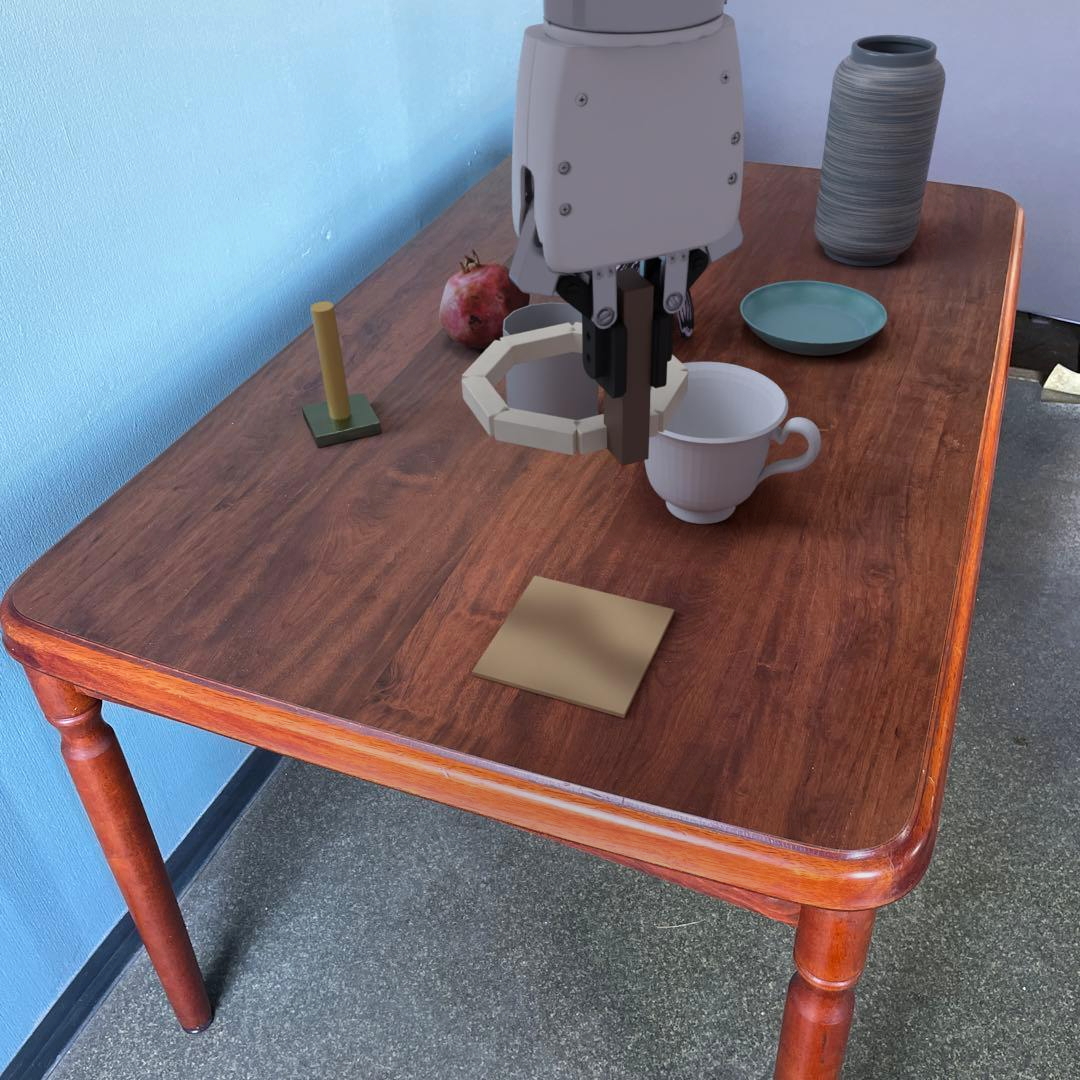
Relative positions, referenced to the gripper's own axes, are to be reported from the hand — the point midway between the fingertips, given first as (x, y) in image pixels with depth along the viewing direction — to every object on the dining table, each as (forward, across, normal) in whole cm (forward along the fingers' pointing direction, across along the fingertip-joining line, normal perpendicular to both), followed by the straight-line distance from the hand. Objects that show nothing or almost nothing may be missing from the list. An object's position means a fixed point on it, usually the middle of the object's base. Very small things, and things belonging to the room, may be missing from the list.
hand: (627, 378), depth 56 cm
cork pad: (+25, 0, -7) cm, 26 cm away
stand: (+25, +8, -43) cm, 50 cm away
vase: (+25, -58, -55) cm, 84 cm away
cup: (+25, -10, -35) cm, 44 cm away
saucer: (+25, -41, -40) cm, 62 cm away
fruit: (+25, -10, -53) cm, 59 cm away
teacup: (+25, -17, -17) cm, 34 cm away
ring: (+5, 0, -7) cm, 8 cm away
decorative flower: (+25, -24, -47) cm, 58 cm away
